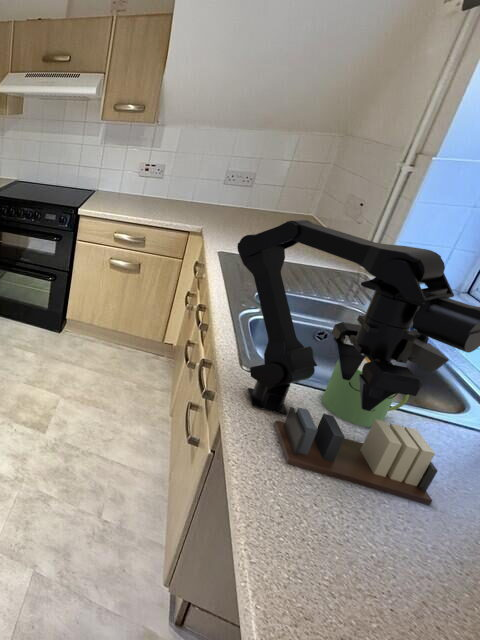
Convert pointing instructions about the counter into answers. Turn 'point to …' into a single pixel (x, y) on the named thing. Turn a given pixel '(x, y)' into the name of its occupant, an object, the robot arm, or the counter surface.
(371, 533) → the counter surface
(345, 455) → the book rack
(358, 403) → the mug
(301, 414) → the grey book
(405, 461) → the cream book
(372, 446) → the cream book
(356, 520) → the counter surface
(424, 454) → the cream book
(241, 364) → the counter surface
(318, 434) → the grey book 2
